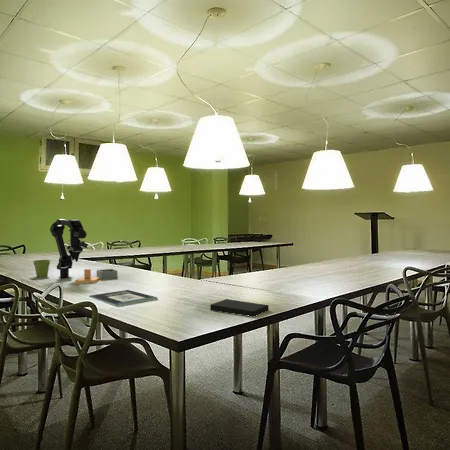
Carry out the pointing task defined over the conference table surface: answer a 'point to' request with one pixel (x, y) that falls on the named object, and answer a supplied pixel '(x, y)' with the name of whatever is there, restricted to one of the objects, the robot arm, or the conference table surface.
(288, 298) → the conference table surface
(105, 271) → the storage box
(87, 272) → the lid
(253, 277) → the conference table surface
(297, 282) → the conference table surface
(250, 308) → the external hard drive
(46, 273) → the plant pot
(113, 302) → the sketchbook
